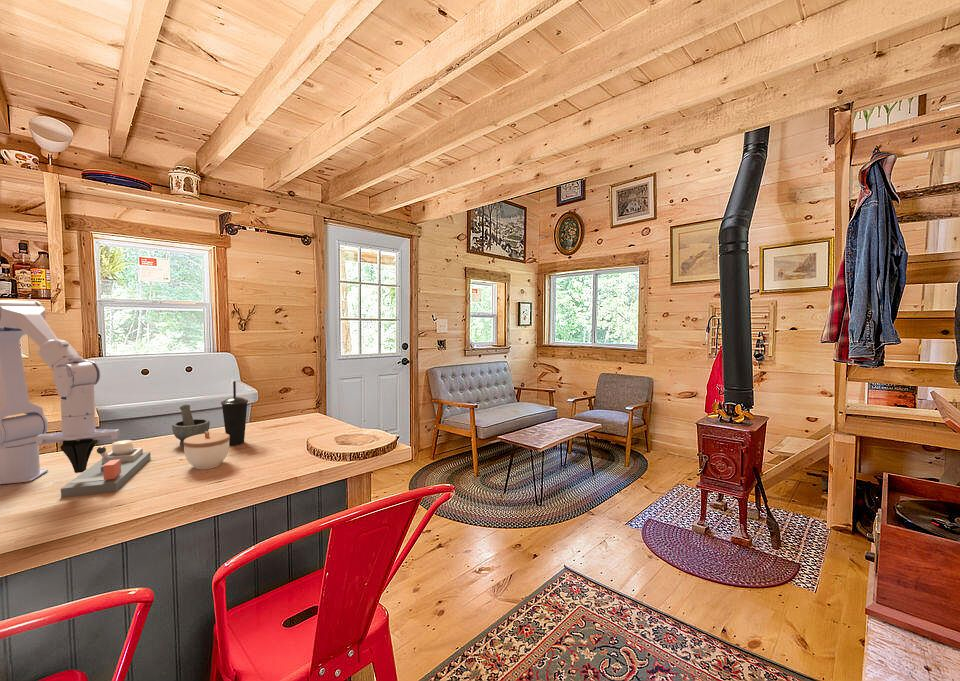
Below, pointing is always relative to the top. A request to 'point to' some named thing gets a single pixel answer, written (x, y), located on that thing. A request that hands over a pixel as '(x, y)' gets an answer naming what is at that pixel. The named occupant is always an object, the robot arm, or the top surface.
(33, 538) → the top surface
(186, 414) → the mortar and pestle
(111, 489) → the panel
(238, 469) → the top surface
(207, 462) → the lidded jar
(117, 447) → the push button
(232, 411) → the drinking cup
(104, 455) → the toggle lever
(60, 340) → the robot arm
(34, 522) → the top surface
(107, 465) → the slide paddle
